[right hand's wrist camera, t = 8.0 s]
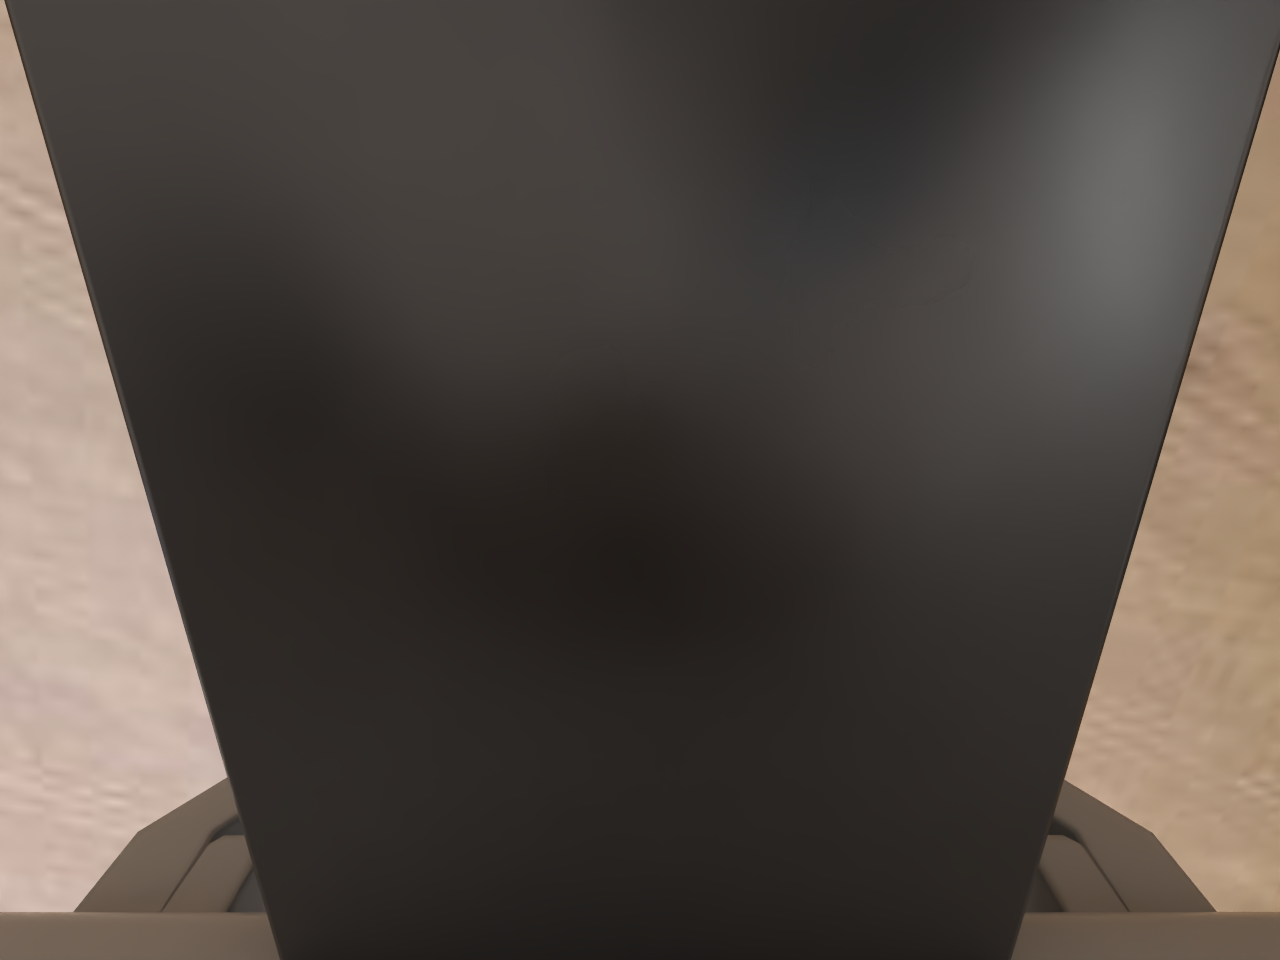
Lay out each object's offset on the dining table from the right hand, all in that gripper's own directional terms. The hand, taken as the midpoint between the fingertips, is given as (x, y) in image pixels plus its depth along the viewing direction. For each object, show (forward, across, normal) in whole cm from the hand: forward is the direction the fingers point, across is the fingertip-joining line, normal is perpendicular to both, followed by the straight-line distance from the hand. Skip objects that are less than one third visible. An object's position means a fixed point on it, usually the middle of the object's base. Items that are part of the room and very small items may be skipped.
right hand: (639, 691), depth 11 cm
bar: (+3, 0, -10) cm, 10 cm away
